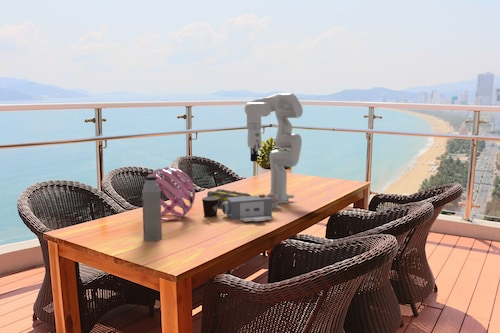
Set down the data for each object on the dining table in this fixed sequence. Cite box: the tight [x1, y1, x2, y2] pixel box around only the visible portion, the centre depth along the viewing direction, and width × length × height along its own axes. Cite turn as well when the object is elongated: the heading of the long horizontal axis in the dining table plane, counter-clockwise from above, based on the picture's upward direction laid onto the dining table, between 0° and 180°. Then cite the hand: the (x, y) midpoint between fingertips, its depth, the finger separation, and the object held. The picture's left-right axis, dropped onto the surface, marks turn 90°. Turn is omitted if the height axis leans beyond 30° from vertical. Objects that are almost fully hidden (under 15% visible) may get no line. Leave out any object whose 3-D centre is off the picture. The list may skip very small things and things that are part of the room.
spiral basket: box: [144, 166, 196, 222], centre depth 243 cm, size 28×28×27 cm
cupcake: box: [265, 191, 279, 210], centre depth 264 cm, size 9×9×10 cm
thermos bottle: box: [141, 176, 163, 242], centre depth 208 cm, size 8×8×28 cm
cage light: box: [206, 188, 252, 209], centre depth 272 cm, size 15×8×30 cm
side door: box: [238, 216, 272, 223], centre depth 237 cm, size 14×1×13 cm
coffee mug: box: [201, 196, 221, 219], centre depth 247 cm, size 12×9×10 cm
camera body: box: [221, 193, 273, 220], centre depth 246 cm, size 25×10×11 cm, turn 108°
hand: (253, 161), depth 248 cm, fingers closed
